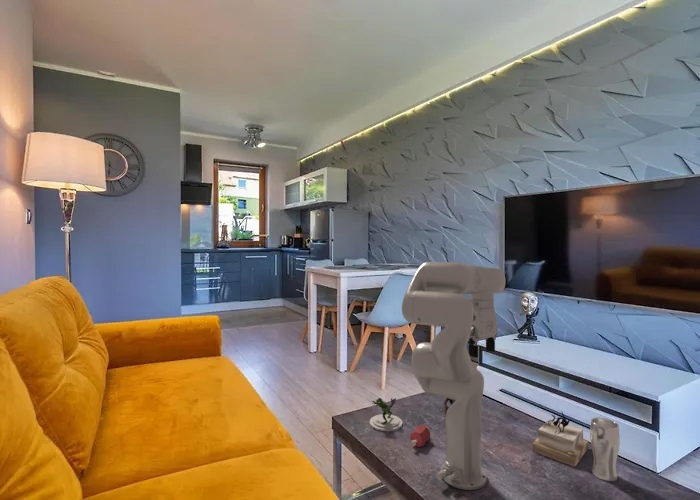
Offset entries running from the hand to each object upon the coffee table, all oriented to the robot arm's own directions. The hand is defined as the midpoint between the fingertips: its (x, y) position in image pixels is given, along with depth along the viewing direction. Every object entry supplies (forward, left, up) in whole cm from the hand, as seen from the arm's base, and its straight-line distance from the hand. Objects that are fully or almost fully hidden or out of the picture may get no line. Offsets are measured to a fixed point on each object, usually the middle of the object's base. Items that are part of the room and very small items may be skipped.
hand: (482, 353), depth 131 cm
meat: (-20, +10, -29) cm, 36 cm away
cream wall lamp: (+12, -21, -29) cm, 37 cm away
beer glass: (+8, -34, -28) cm, 45 cm away
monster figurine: (-20, +27, -29) cm, 44 cm away
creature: (+11, -20, -22) cm, 31 cm away
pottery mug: (+7, +16, -29) cm, 34 cm away
